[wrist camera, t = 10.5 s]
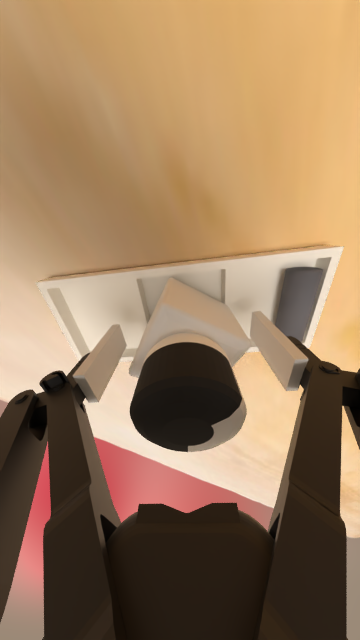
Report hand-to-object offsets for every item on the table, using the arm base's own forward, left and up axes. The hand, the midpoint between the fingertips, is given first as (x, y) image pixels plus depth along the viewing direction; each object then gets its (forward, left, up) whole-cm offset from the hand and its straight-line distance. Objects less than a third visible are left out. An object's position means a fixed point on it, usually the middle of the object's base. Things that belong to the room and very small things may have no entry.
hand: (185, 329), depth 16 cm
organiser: (0, 0, -5) cm, 5 cm away
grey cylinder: (0, +11, -3) cm, 11 cm away
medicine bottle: (0, 0, -3) cm, 3 cm away
